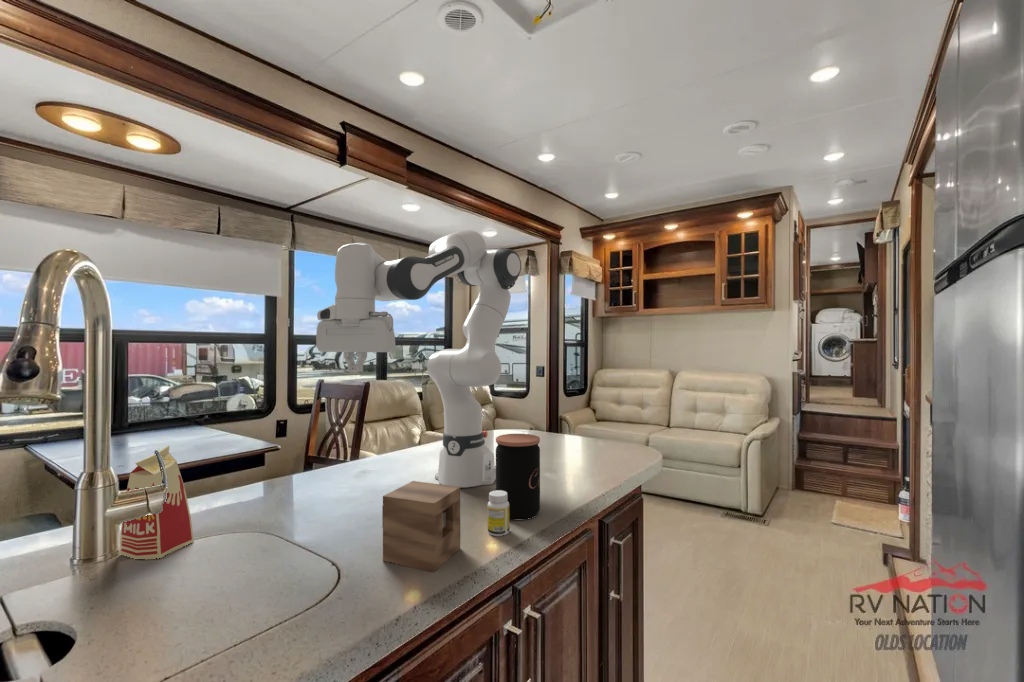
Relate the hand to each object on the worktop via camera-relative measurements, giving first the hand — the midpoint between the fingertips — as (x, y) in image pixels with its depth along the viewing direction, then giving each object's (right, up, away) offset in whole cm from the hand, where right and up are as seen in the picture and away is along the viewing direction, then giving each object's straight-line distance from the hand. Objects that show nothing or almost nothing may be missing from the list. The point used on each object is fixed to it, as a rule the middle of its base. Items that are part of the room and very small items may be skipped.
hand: (355, 371), depth 106 cm
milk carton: (-34, -34, -16) cm, 51 cm away
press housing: (+19, -34, -18) cm, 43 cm away
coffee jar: (+38, -34, +3) cm, 51 cm away
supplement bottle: (+33, -34, -8) cm, 49 cm away
